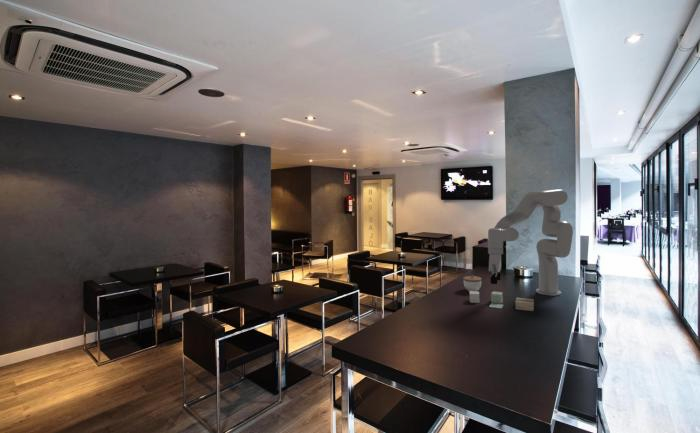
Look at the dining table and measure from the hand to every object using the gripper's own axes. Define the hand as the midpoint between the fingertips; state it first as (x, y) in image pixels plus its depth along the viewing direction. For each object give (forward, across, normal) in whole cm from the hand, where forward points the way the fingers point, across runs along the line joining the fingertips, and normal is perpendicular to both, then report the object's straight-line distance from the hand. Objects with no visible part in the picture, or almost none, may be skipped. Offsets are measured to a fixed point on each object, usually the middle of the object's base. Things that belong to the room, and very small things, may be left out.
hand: (495, 281), depth 182 cm
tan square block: (+11, +3, +15) cm, 19 cm away
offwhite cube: (+12, +3, -10) cm, 16 cm away
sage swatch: (+11, +7, +2) cm, 13 cm away
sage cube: (+11, -1, +1) cm, 11 cm away
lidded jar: (+11, -18, -16) cm, 27 cm away
